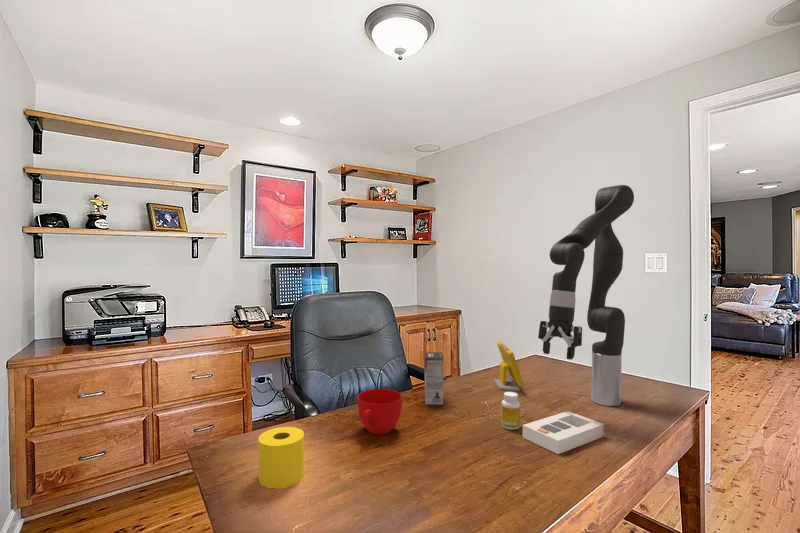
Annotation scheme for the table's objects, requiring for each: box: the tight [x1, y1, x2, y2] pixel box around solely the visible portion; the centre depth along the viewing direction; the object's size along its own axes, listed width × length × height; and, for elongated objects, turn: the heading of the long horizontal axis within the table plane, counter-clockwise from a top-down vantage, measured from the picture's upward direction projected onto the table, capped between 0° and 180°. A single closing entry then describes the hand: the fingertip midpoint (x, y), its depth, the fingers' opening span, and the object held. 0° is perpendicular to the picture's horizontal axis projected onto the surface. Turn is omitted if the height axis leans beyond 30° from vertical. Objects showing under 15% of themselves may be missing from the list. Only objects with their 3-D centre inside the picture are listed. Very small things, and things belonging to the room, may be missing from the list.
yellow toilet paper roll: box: [258, 426, 305, 489], centre depth 95 cm, size 10×10×9 cm
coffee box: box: [424, 351, 445, 406], centre depth 146 cm, size 9×6×16 cm
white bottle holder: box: [522, 410, 605, 455], centre depth 116 cm, size 20×12×4 cm, turn 122°
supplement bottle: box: [500, 391, 521, 431], centre depth 123 cm, size 5×5×10 cm
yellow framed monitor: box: [493, 341, 524, 392], centre depth 162 cm, size 20×8×16 cm, turn 179°
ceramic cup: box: [357, 388, 403, 436], centre depth 119 cm, size 13×17×10 cm
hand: (557, 356), depth 131 cm, fingers open, 8 cm apart
